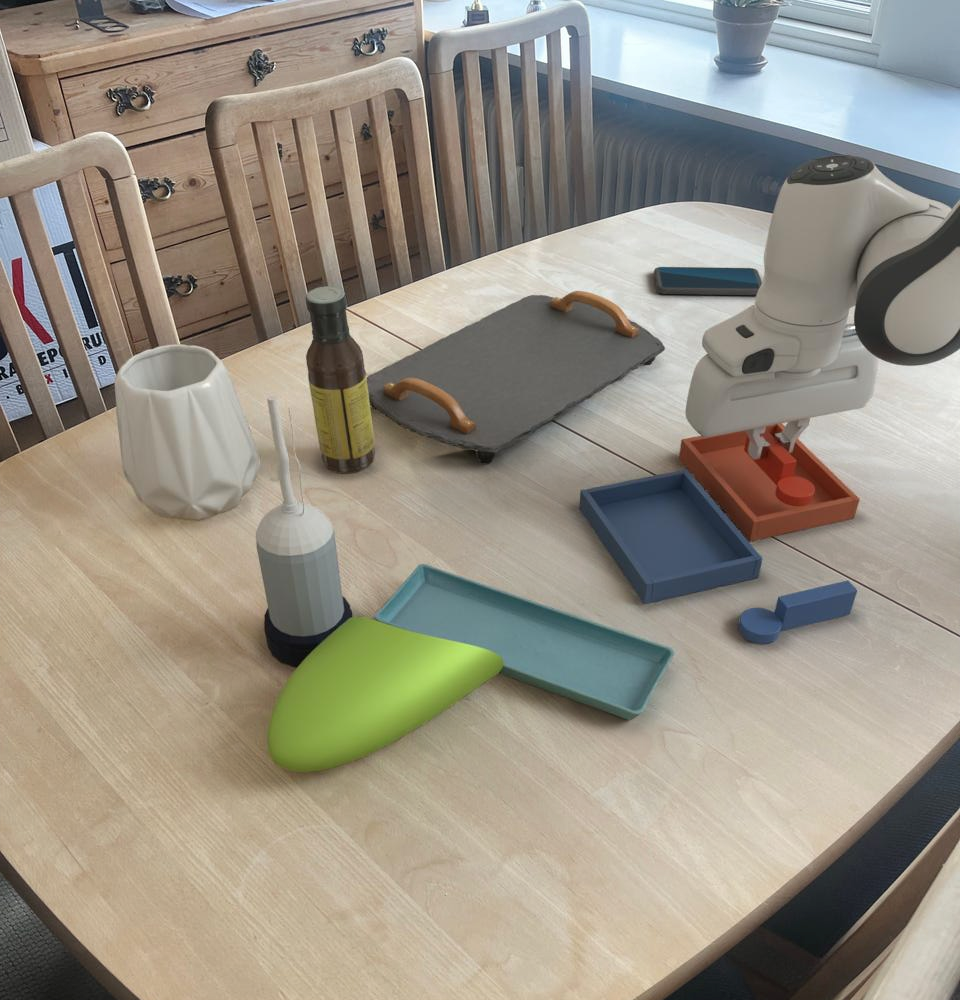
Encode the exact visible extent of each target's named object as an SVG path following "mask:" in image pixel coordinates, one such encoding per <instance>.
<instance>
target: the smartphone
mask: <svg viewBox="0 0 960 1000" xmlns="http://www.w3.org/2000/svg"><path fill="white" fill-rule="evenodd" d="M653 276H654V282H655V288H656V292H657V293H659V294H661V295H707V296H708V295H710V296H756V295H757V293H758V290H759V288H760V286H761V284H762V282H763V280H762V279H761V276H760V272H759V270H758V269H756V268H753V267H709V266H708V267H705V266H704V267H702V266H700V267H699V266H658V267H655V268H654V270H653Z"/></svg>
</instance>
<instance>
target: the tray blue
mask: <svg viewBox="0 0 960 1000" xmlns="http://www.w3.org/2000/svg"><path fill="white" fill-rule="evenodd" d="M579 492H580V493H579V507H578V509H579V511H580V513H581V514H582V516H583V518H585V521H586V522H587V523H588V525H589V526H590V527H591V529H592V530H593V532H594V533H595V535H596V536H597V538H598V540H599V541H600V543H602V545H603V546H604V548H605V549H606V551H607V552H608V554H609V555H610V557H611V558H612V560H613V561H614V563H615V564H616V565H617V567H618V569H619V570H620V572H621V573H622V574H623V576H624V577H625V579H626V580H627V582H628V584H630V586H631V587H632V589H633V590H634V592H635V593H636V595H637V597H638V598H639V599H640V601H641V602H642V603H643V605H647V604H651V603H655V602H660V601H665V600H669V599H673V598H676V597H681V596H686V595H691V594H694V593H698V592H703V591H708V590H712V589H714V588H716V589H717V588H720V587H725V586H729V585H733V584H738V583H742V582H747V581H750V580H754V579H758V578H759V576H760V572H761V567H762V563H763V556H761V555H760V553H759V552H758V551H757V550H756V549H755V548H754V546H753V545H752V544H751V543H750V541H749V540H748V538H747V537H746V536H745V535H744V534H743V533H742V531H741V530H740V529H739V528H738V527H737V526H736V524H735V523H734V522H733V521H732V520H731V518H730V517H729V516H728V515H727V514H726V513H725V511H724V510H723V509H722V508H721V507H720V506H719V504H718V503H717V502H716V501H715V500H714V499H713V497H712V496H711V495H710V494H709V493H708V492H707V490H706V489H705V488H704V487H703V486H702V485H701V483H700V482H699V481H698V480H697V479H696V477H695V476H694V475H693V474H692V473H691V472H690V470H689V469H688V468H684V469H679V470H675V471H670V472H669V471H668V472H664V473H659V474H655V475H649V476H645V477H639V478H635V479H629V480H625V481H620V482H615V483H610V484H604V485H600V486H595V487H590V488H585V489H580V491H579Z"/></svg>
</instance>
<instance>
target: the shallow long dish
mask: <svg viewBox="0 0 960 1000" xmlns="http://www.w3.org/2000/svg"><path fill="white" fill-rule="evenodd" d="M373 620H376V621H379V622H382V623H385V624H388V625H391V626H394V627H397V628H400V629H404V630H407V631H411V632H415V633H419V634H423V635H428V636H432V637H437V638H442V639H446V640H451V641H456V642H460V643H465V644H469V645H473V646H477V647H480V648H484V649H487V650H490V651H492V652H494V653H496V654H498V655H499V656H500V657H502V659H503V667H502V669H501V671H500V672H499V673H498V674H501V675H504V676H507V677H509V678H512V679H515V680H517V681H520V682H523V683H525V684H528V685H531V686H534V687H535V688H538V689H542V690H545V691H548V692H550V693H553V694H556V695H559V696H561V697H564V698H567V699H569V700H573V701H575V702H578V703H580V704H584V705H586V706H589V707H592V708H593V709H594V708H595V709H597V710H600V711H603V712H605V713H608V714H610V715H614V716H616V717H619V718H622V719H625V720H629V721H631V720H633V719H635V718H638V717H639V716H640V715H641V714H643V713H644V711H645V708H646V706H647V705H648V703H649V701H650V700H651V699H650V698H651V697H652V695H653V693H654V691H655V690H656V687H657V686H658V684H659V682H660V680H661V678H662V677H663V675H664V673H665V672H666V669H667V668H668V666H669V664H670V662H671V661H672V660H673V658H674V656H675V650H674V649H673V648H672V647H670V646H668V645H663V644H660V643H657V642H654V641H652V640H648V639H645V638H642V637H640V636H636V635H634V634H631V633H627V632H624V631H623V630H622V631H621V630H619V629H616V628H612V627H609V626H606V625H604V624H601V623H598V622H595V621H592V620H589V619H586V618H583V617H581V616H577V615H574V614H572V613H568V612H566V611H562V610H560V609H557V608H554V607H552V606H548V605H545V604H542V603H539V602H537V601H534V600H530V599H527V598H524V597H522V596H518V595H516V594H513V593H510V592H507V591H505V590H501V589H498V588H495V587H492V586H490V585H486V584H484V583H480V582H479V581H476V580H472V579H470V578H466V577H463V576H461V575H457V574H455V573H452V572H449V571H446V570H443V569H441V568H438V567H435V566H432V565H430V564H426V563H421V564H418V565H417V566H416V567H415V569H414V570H413V571H412V572H411V574H409V576H408V577H406V579H405V580H404V582H403V583H402V584H401V585H400V586H399V588H397V589H396V591H394V593H393V594H392V595H391V596H390V598H388V600H387V601H386V602H385V603H384V604H383V605H382V606H381V607H380V609H378V611H377V612H375V614H374V617H373Z"/></svg>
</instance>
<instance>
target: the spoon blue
mask: <svg viewBox="0 0 960 1000" xmlns="http://www.w3.org/2000/svg"><path fill="white" fill-rule="evenodd" d="M857 594H858V589H857V588H856V587H855V585H853V583H852V582H851V581H850V580H848V579H847V580H843V581H840V582H835V583H831V584H826V585H822V586H817V587H813V588H809V589H804V590H801V591H797V592H793V593H788V594H783V595H779V596H778V597H777V599H776V604H775V608H774V611H772V610H770V609H768V608H764V607H751V608H747V609H745V610H744V611H743V612H742V613H741V614H740V616H739V620H738V626H737V629H738V632H739V634H740V635H741V637H743V638H744V640H746V641H748V642H751V643H753V644H758V645H765V644H771V643H773V642H775V641H777V640H778V638H779V637H780V634H781V632H784V631H787V630H791V629H792V630H793V629H795V628H799V627H800V628H801V627H803V626H808V625H811V624H815V623H819V622H820V623H821V622H823V621H827V620H832V619H836V618H840V617H844V616H848V615H850V614H852V609H853V606H854V604H855V601H856V598H857Z"/></svg>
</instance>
